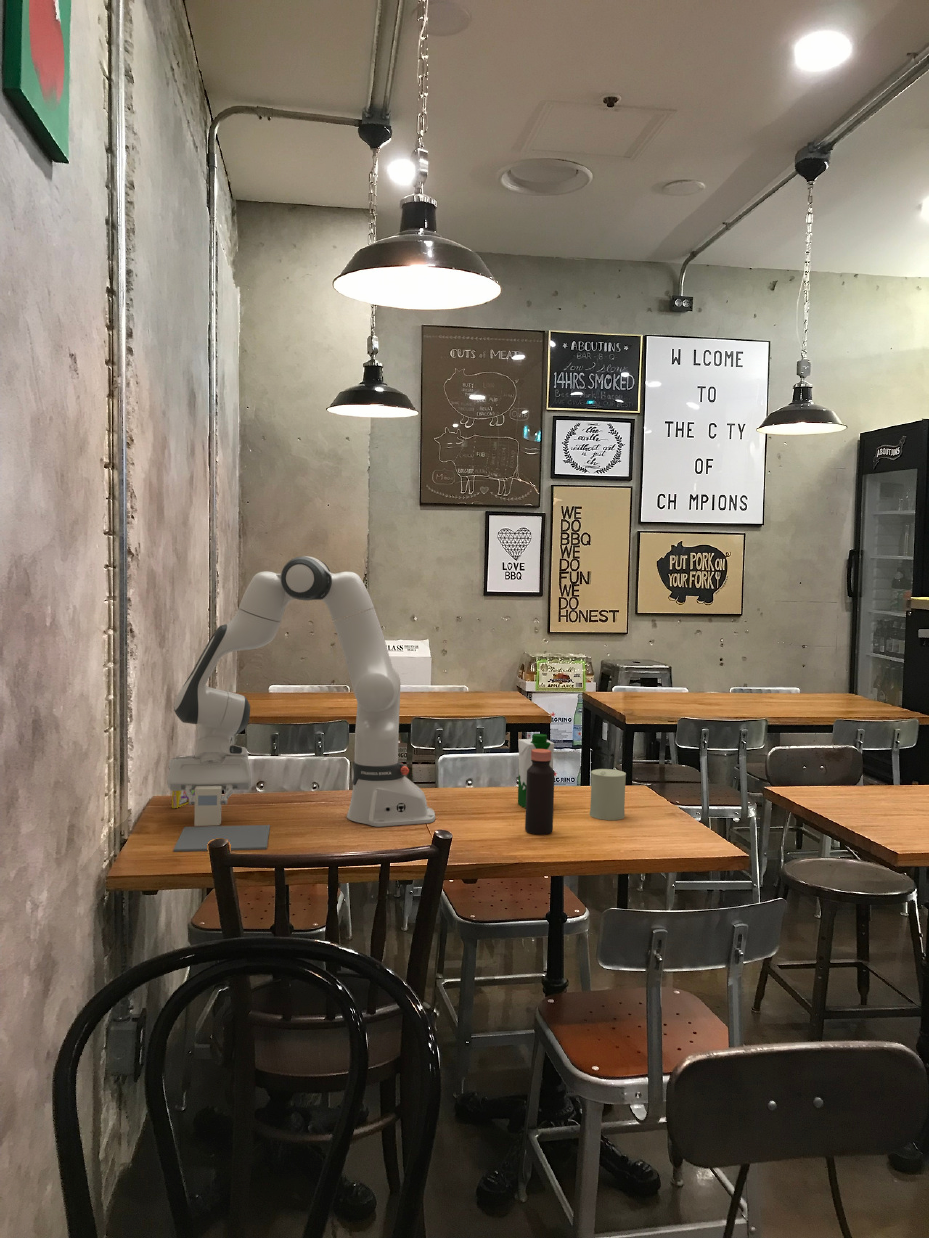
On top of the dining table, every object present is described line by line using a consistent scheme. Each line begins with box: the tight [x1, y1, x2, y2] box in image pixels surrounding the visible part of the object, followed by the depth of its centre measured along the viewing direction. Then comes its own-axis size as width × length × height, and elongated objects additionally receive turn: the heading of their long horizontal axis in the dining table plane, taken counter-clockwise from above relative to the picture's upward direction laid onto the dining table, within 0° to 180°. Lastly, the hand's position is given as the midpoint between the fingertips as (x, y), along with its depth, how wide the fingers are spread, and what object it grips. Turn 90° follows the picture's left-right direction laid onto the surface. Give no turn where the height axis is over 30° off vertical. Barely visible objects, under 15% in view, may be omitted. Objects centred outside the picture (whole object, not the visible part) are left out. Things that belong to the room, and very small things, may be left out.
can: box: [589, 768, 627, 821], centre depth 236 cm, size 9×9×12 cm
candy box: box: [171, 790, 195, 809], centre depth 240 cm, size 16×2×8 cm, turn 168°
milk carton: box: [517, 733, 555, 810], centre depth 244 cm, size 9×9×20 cm
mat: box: [172, 824, 271, 853], centre depth 207 cm, size 20×18×1 cm
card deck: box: [193, 786, 223, 827], centre depth 219 cm, size 6×3×9 cm, turn 100°
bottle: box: [524, 749, 555, 836], centre depth 219 cm, size 7×7×20 cm
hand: (207, 803), depth 218 cm, fingers closed on card deck, 6 cm apart
